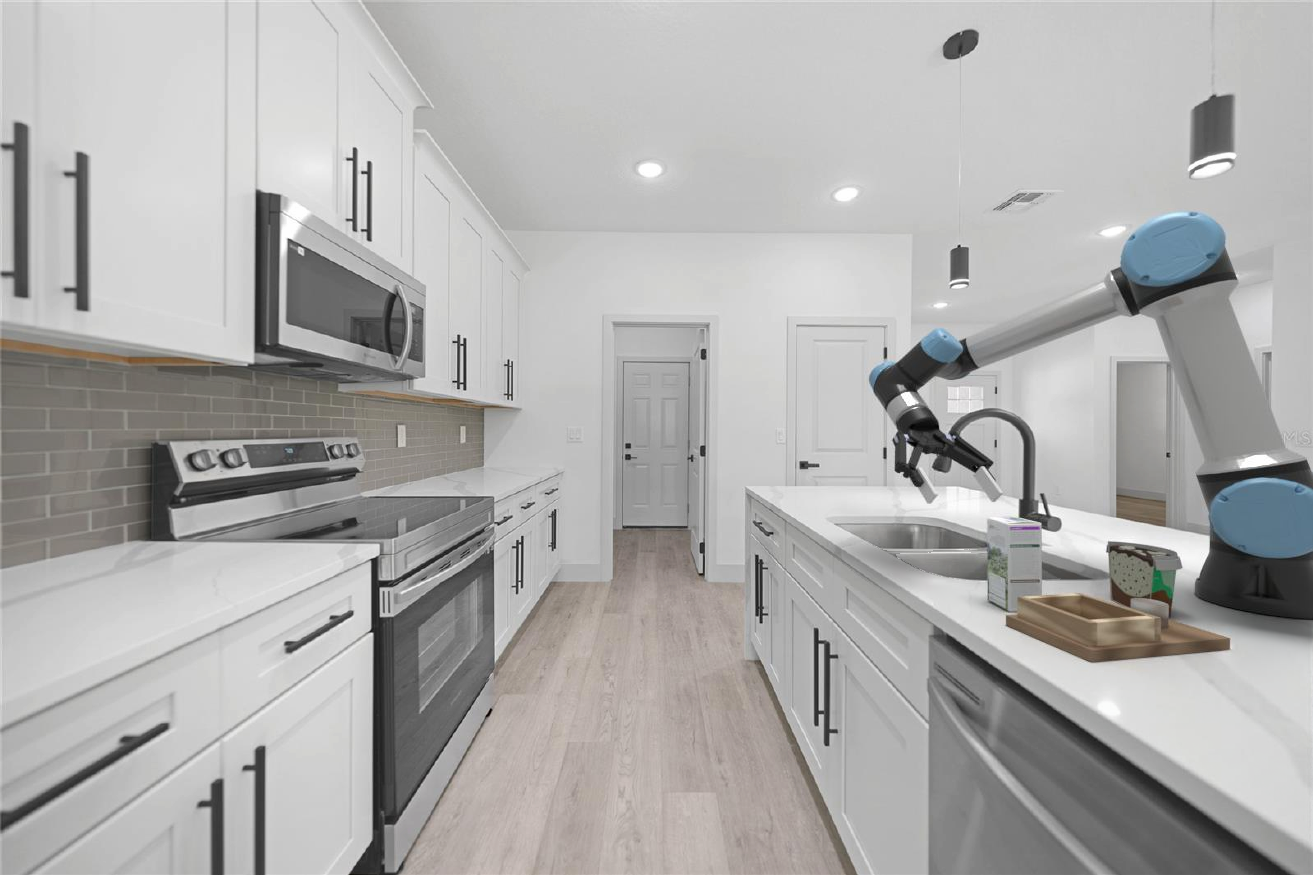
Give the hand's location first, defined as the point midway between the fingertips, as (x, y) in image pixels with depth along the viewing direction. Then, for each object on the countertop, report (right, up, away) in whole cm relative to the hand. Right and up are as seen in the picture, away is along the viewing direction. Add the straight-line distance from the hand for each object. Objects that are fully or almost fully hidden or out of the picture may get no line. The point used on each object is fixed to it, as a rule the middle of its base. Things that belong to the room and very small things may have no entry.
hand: (965, 498), depth 98 cm
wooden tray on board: (+7, -17, -23) cm, 29 cm away
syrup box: (+2, -17, -10) cm, 20 cm away
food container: (+23, -17, -12) cm, 31 cm away
